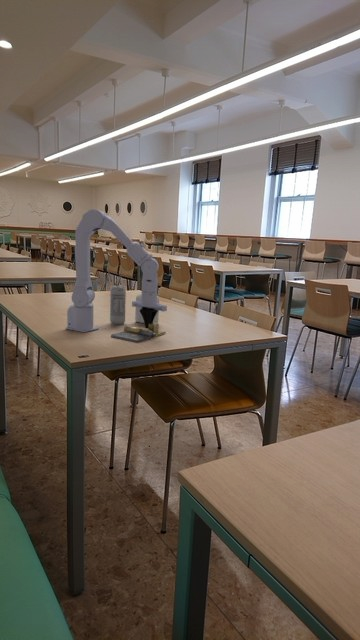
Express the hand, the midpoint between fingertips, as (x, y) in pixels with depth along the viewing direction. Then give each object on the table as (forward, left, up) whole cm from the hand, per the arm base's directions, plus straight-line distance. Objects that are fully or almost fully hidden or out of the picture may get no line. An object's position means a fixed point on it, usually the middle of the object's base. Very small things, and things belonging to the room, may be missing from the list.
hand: (148, 327), depth 154 cm
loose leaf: (-1, -1, -2) cm, 2 cm away
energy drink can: (-19, +5, -2) cm, 20 cm away
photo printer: (-11, +14, -2) cm, 18 cm away
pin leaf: (0, -9, -2) cm, 9 cm away
